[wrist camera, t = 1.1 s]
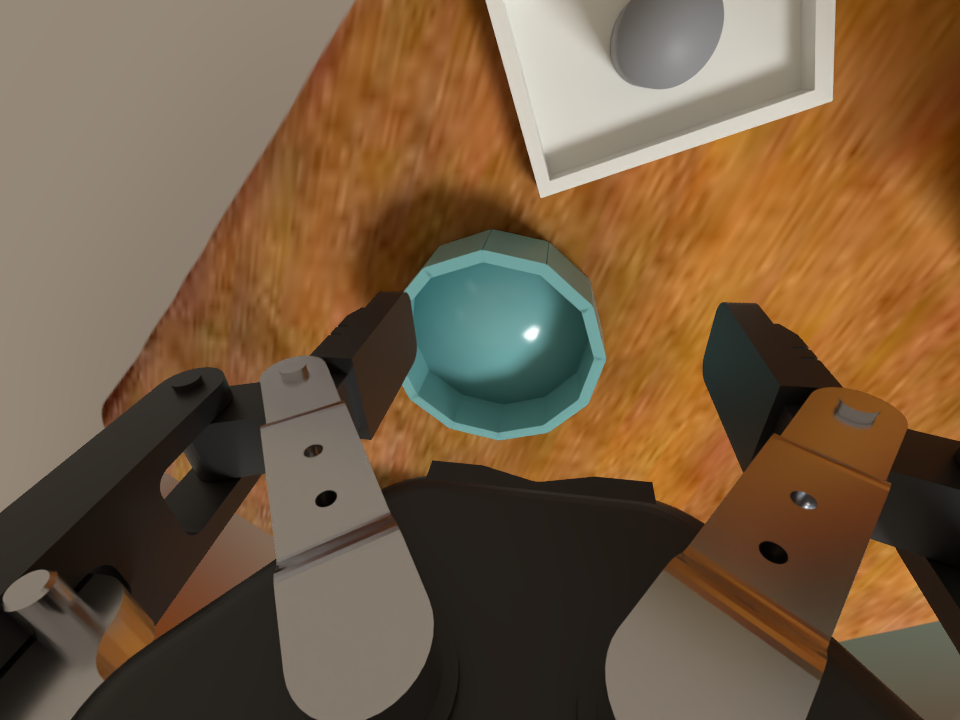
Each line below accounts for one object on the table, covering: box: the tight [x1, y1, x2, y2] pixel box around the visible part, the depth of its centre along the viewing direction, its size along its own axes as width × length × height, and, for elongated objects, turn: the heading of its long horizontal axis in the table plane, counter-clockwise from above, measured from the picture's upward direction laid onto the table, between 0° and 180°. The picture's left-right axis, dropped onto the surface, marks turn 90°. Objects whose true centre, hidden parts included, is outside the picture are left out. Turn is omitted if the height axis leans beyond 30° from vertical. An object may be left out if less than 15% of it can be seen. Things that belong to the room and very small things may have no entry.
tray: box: [486, 0, 836, 198], centre depth 23 cm, size 16×12×2 cm
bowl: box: [402, 229, 606, 440], centre depth 34 cm, size 16×16×4 cm
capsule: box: [610, 0, 724, 89], centre depth 22 cm, size 4×4×5 cm
